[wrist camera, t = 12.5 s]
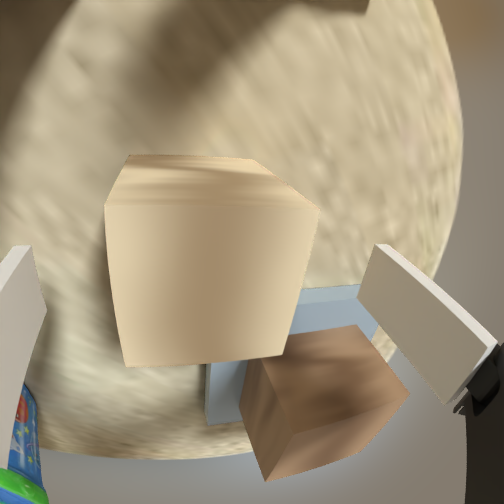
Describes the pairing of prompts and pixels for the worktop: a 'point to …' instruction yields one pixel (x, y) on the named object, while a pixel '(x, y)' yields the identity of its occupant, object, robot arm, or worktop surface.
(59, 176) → the worktop surface
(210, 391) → the plate
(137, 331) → the oak brick
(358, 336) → the walnut brick
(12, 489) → the snack cup
